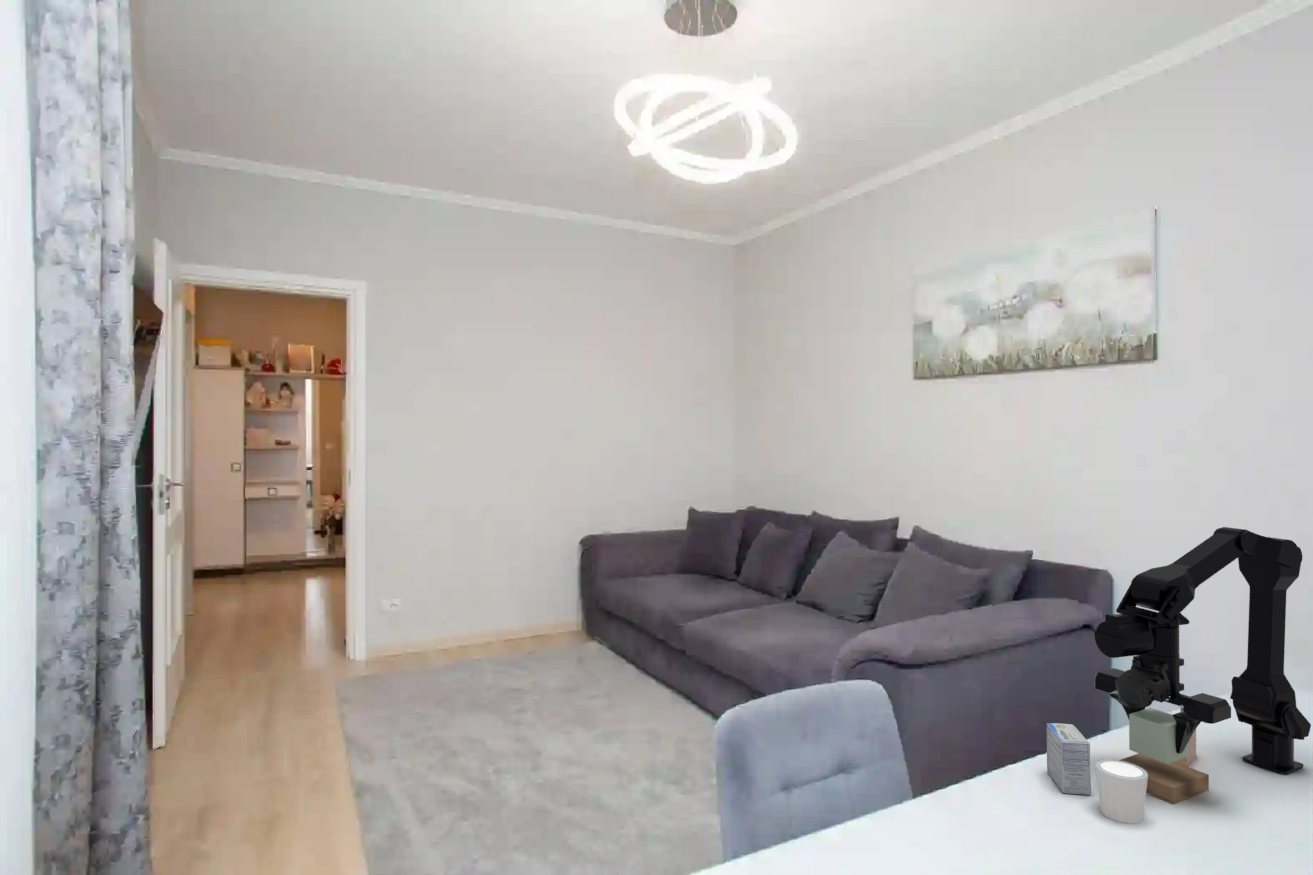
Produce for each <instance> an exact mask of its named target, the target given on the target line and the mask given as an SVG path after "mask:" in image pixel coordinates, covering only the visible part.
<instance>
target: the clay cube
mask: <svg viewBox="0 0 1313 875" xmlns="http://www.w3.org/2000/svg"><path fill="white" fill-rule="evenodd" d="M1196 758H1197V728H1196V729H1195V731H1194V733H1193V734H1192V736H1191V738H1190V740H1189V756H1188V757H1185V758H1182V759H1180V760H1177V761H1174V762H1176V763H1178V764H1181V765H1184V766H1187V767H1189V765H1191V763H1193V761H1194V760H1195V759H1196Z"/></svg>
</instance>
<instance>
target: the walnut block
mask: <svg viewBox="0 0 1313 875" xmlns="http://www.w3.org/2000/svg"><path fill="white" fill-rule="evenodd" d="M1117 760H1118V759H1117ZM1118 761H1124V762H1128V763H1131V764H1134V765H1136V766H1139V767H1141V768H1143V769H1144V770H1145V771H1146V772H1147V774H1148V780H1147V789H1146V795H1150V796H1152V797H1155V798H1157V799H1159V800H1162V801H1164V802H1167V803H1169V804H1172V805H1175V804H1177V803H1180V802H1182V801H1185V800H1187V799H1189V798H1192V797H1194V796H1197V795H1199V794H1202V793H1204V792H1207V791H1209V790H1210V788H1209V787H1210V782H1209V779H1210V776H1209V774H1207V773H1205V772H1203V771H1200V770H1197V769H1194V768H1192V767H1189V766H1188V767H1187V766H1184V765H1181V764H1178V763H1176V762H1171V763H1169V764H1166V763H1164V762H1161V761H1158V760H1155V759H1153V758H1150V757H1147V756H1145V755H1142V754H1139V753H1136V754H1132V755H1131V756H1127V757H1125V758H1121V759H1119V760H1118Z"/></svg>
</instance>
